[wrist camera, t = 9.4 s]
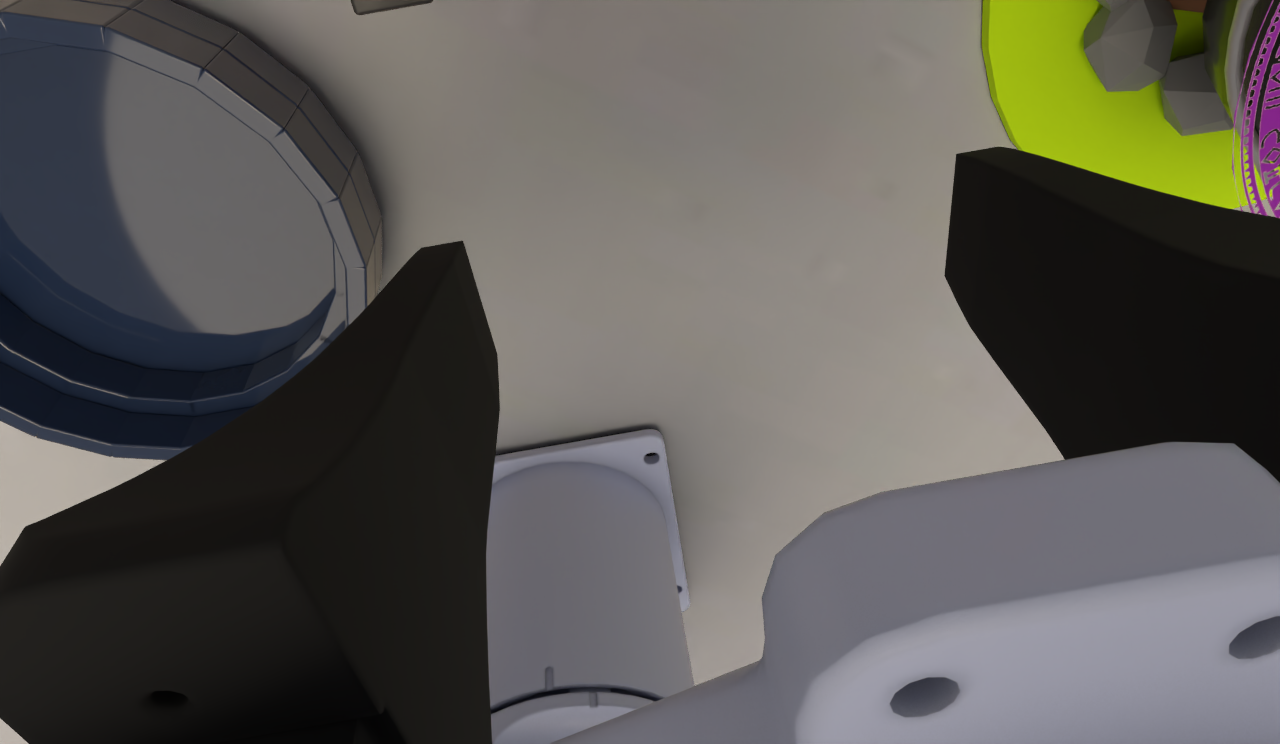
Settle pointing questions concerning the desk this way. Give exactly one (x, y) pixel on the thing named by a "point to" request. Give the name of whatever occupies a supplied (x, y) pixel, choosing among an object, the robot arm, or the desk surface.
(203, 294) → the pan
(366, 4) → the copper pot
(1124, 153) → the toy cauldron
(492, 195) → the desk surface
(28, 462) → the desk surface
